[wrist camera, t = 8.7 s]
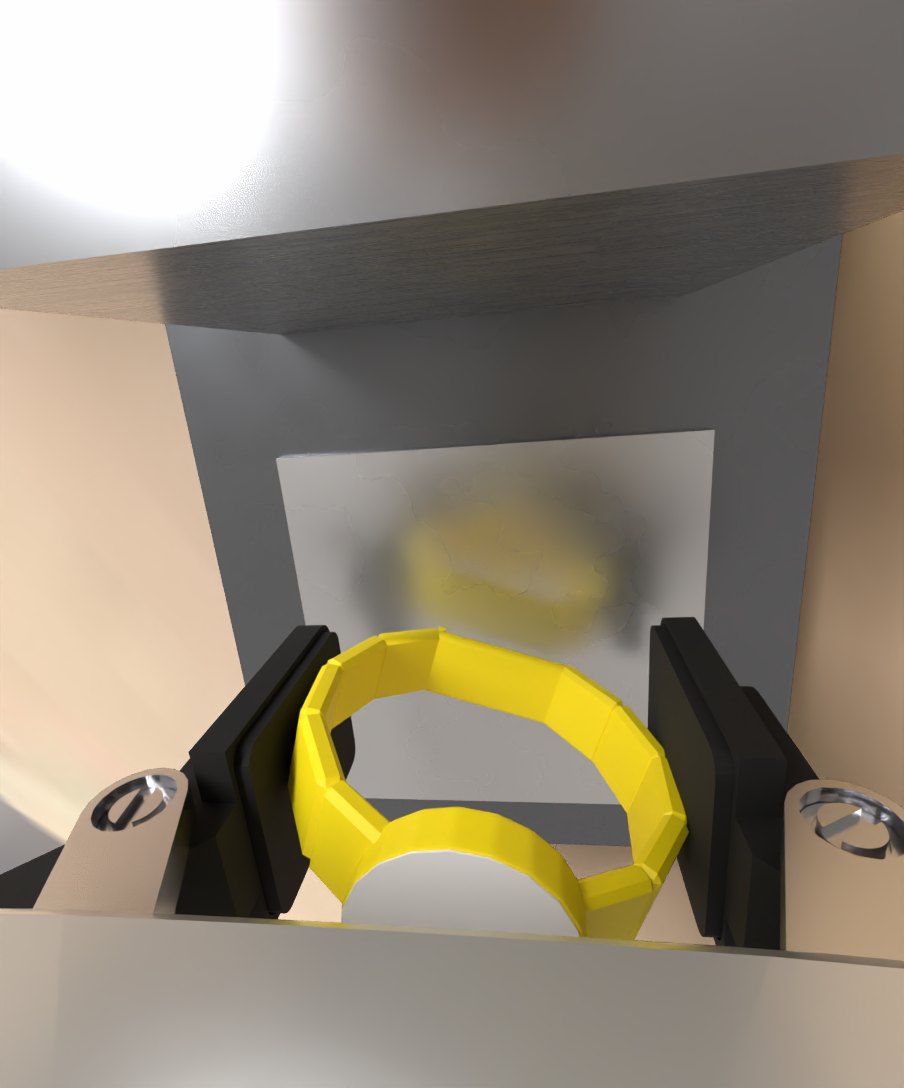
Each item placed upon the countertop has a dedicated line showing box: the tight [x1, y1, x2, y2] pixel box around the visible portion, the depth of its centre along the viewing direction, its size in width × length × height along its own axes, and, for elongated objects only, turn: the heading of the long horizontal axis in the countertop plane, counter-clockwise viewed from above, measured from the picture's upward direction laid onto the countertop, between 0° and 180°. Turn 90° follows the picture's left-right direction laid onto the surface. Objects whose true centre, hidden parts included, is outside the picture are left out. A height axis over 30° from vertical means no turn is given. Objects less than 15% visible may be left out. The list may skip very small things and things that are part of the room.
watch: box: [288, 626, 689, 940], centre depth 9 cm, size 6×3×6 cm, turn 76°
